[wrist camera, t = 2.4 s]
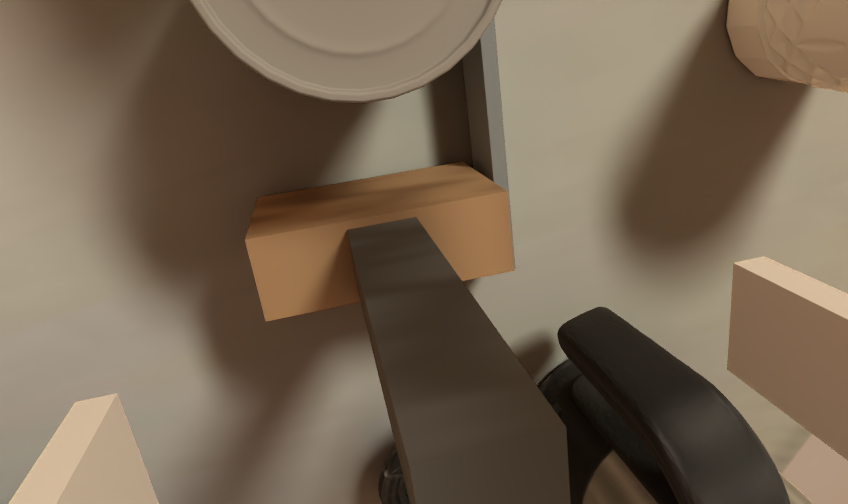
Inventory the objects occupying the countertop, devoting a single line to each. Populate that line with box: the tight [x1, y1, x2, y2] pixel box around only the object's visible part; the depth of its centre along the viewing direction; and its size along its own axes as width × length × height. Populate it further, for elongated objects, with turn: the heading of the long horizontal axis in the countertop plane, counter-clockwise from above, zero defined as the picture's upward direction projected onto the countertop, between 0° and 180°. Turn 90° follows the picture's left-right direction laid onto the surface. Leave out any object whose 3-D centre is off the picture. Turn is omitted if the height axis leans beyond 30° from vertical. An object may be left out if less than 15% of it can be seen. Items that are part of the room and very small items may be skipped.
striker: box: [245, 162, 571, 504], centre depth 17 cm, size 9×3×18 cm, turn 98°
